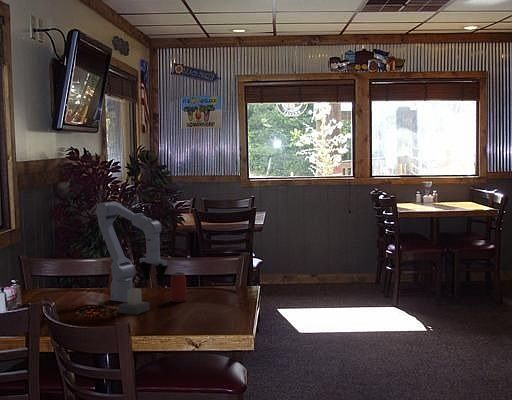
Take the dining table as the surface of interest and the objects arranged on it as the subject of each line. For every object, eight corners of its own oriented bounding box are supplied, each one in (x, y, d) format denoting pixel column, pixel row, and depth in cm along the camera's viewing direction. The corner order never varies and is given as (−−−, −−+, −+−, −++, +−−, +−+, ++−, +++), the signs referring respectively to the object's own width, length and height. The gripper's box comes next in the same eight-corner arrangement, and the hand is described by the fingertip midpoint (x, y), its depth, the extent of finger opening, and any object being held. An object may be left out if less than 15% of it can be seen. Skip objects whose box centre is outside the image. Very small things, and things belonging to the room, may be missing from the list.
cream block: (127, 304, 278) (127, 289, 277) (134, 302, 281) (134, 287, 281) (134, 305, 276) (134, 290, 275) (141, 303, 279) (141, 288, 278)
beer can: (183, 302, 292) (183, 275, 291) (169, 302, 294) (168, 274, 293) (188, 299, 299) (187, 272, 298) (173, 299, 300) (173, 272, 299)
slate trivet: (118, 312, 276) (118, 305, 276) (131, 307, 284) (131, 300, 284) (137, 314, 272) (136, 307, 272) (149, 309, 280) (149, 302, 280)
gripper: (134, 249, 291) (135, 280, 292) (158, 251, 282) (159, 284, 283) (146, 247, 297) (146, 277, 298) (170, 249, 288) (171, 281, 289)
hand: (153, 280), depth 291 cm, fingers open, 7 cm apart
